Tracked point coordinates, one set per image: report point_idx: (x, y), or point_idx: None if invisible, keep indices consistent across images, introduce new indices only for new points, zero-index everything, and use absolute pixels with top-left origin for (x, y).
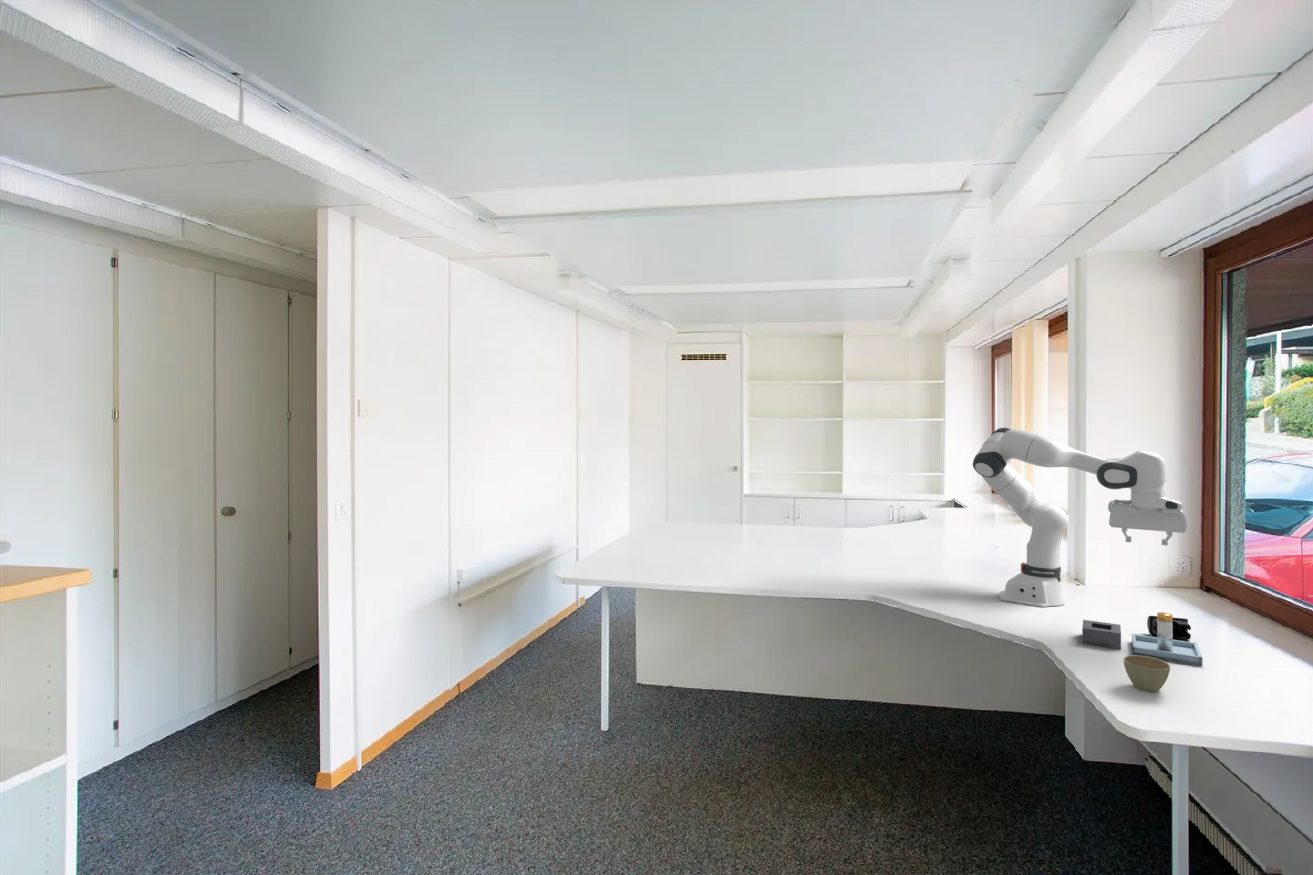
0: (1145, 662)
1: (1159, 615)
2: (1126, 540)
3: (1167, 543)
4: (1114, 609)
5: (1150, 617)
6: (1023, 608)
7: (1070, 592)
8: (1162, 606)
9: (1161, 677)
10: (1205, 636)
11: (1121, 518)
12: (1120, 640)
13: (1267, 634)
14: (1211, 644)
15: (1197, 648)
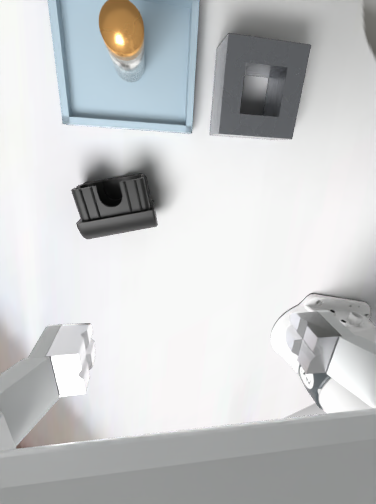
0: None
1: (138, 11)
2: (329, 313)
3: (43, 332)
4: (198, 341)
5: (152, 209)
6: (342, 271)
7: (250, 397)
8: (125, 393)
9: None
10: (57, 251)
11: None
12: (223, 40)
13: None
14: (44, 197)
15: (59, 68)
